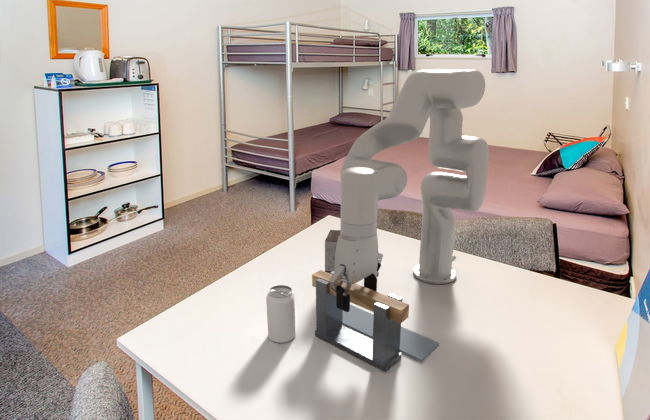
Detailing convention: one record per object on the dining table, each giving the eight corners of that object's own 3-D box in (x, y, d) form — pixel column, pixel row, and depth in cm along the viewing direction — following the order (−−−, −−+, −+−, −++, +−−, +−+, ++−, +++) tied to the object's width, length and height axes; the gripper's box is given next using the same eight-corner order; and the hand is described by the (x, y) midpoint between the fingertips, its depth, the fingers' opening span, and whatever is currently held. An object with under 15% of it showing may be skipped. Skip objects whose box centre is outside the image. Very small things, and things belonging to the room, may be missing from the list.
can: (280, 325, 111) (278, 281, 107) (301, 333, 108) (300, 289, 104) (262, 338, 106) (259, 292, 102) (283, 347, 103) (282, 301, 99)
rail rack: (331, 325, 111) (331, 270, 106) (401, 359, 98) (404, 298, 94) (314, 336, 107) (314, 279, 102) (385, 372, 94) (388, 310, 89)
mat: (344, 303, 121) (344, 301, 120) (439, 345, 103) (439, 343, 103) (324, 316, 115) (324, 314, 115) (421, 362, 97) (422, 359, 97)
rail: (320, 281, 107) (320, 270, 106) (408, 317, 92) (409, 304, 91) (312, 286, 105) (312, 274, 104) (400, 323, 90) (401, 310, 89)
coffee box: (347, 296, 124) (347, 242, 119) (324, 294, 126) (323, 240, 120) (351, 281, 133) (352, 230, 128) (330, 279, 134) (330, 228, 129)
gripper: (368, 213, 102) (366, 281, 107) (317, 234, 89) (317, 310, 95) (396, 220, 97) (393, 291, 103) (346, 244, 85) (345, 323, 90)
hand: (356, 300), depth 99 cm, fingers open, 9 cm apart
